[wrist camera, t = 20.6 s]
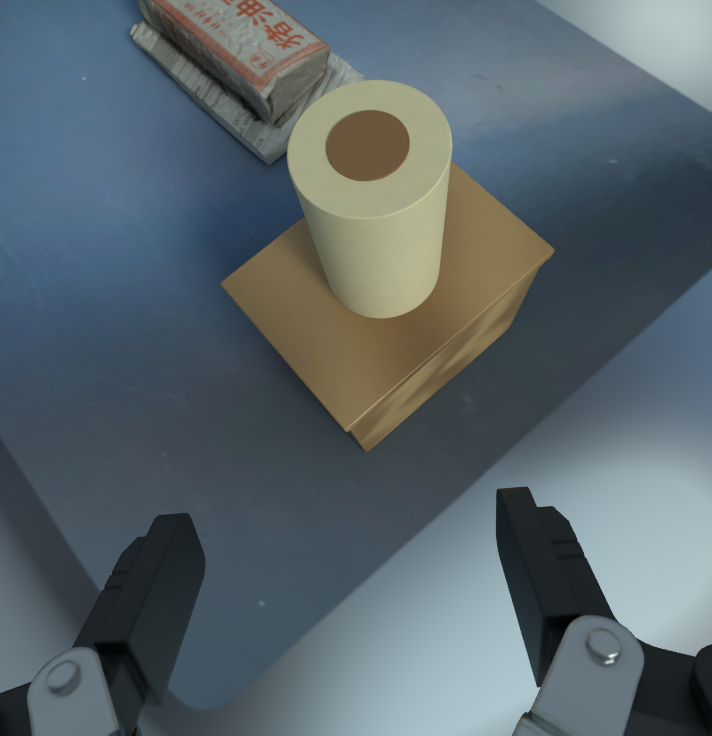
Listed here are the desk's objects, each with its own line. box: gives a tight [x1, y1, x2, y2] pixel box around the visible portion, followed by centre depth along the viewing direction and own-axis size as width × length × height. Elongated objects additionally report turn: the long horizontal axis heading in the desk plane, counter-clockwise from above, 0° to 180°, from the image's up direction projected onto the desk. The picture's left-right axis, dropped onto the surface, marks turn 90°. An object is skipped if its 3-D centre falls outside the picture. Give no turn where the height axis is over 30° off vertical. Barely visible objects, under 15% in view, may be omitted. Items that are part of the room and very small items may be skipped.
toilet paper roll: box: [287, 80, 452, 318], centre depth 20 cm, size 5×5×8 cm
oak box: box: [220, 161, 554, 453], centre depth 28 cm, size 12×9×10 cm
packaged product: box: [130, 0, 364, 166], centre depth 39 cm, size 18×5×10 cm
